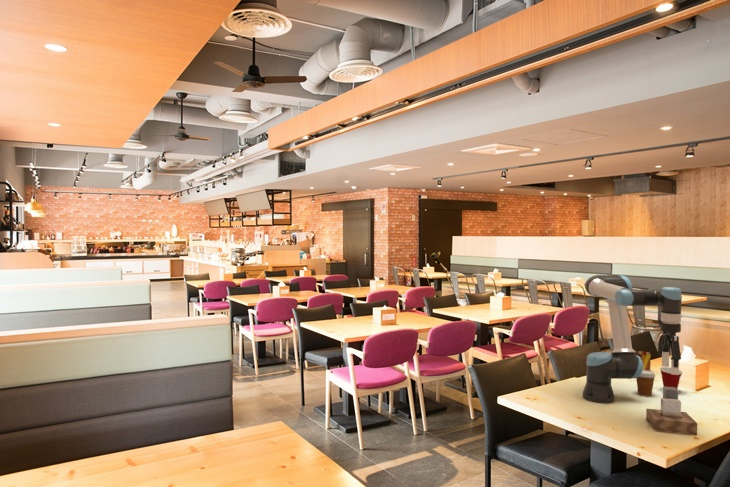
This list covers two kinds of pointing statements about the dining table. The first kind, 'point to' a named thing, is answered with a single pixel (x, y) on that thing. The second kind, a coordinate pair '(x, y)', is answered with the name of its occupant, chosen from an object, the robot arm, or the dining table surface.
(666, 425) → the socket block
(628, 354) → the robot arm
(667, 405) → the pale grey rectangular block
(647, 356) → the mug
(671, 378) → the plastic cup
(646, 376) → the disposable coffee cup
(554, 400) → the dining table surface
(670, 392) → the square steel bar
